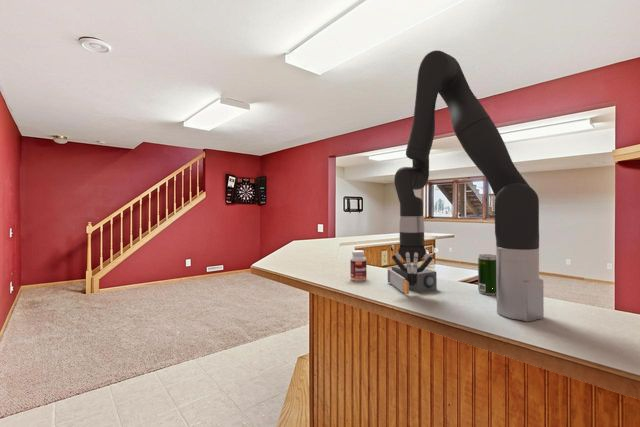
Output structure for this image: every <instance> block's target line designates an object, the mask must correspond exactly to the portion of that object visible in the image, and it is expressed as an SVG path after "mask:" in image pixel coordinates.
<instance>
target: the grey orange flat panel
mask: <svg viewBox="0 0 640 427" xmlns="http://www.w3.org/2000/svg"><path fill="white" fill-rule="evenodd" d="M387 283H390V284H391V285H392V286H394V288H396V289H397V290H398V291H399V292H402V293H403V294H406V295H409V294H410V290H409V282H408V281H407V280H405V278H404V277H402V276H401V275H399V274H397V273H396V272H394V271H393V270H392V269H390V268H389V269H387Z"/></svg>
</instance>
